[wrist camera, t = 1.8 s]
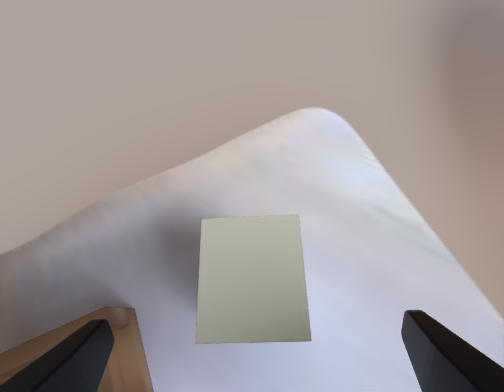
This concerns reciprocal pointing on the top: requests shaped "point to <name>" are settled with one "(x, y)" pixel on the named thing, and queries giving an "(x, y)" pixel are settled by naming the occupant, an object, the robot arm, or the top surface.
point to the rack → (120, 361)
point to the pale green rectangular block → (252, 281)
